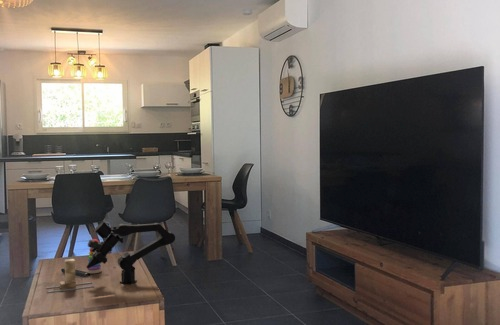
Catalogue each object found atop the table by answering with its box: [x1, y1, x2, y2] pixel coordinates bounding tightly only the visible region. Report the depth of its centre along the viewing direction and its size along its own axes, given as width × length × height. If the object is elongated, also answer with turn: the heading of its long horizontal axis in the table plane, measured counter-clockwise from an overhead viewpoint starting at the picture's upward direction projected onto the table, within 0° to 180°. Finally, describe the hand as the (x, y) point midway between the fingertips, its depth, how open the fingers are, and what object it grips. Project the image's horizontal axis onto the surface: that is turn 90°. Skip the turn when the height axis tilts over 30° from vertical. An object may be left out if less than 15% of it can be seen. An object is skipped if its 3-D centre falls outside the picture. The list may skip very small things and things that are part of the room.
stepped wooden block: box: [59, 258, 77, 290], centre depth 264 cm, size 7×6×14 cm
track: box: [45, 281, 94, 294], centre depth 265 cm, size 22×8×1 cm, turn 114°
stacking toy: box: [86, 238, 102, 274], centre depth 298 cm, size 8×8×19 cm
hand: (87, 267), depth 268 cm, fingers closed
